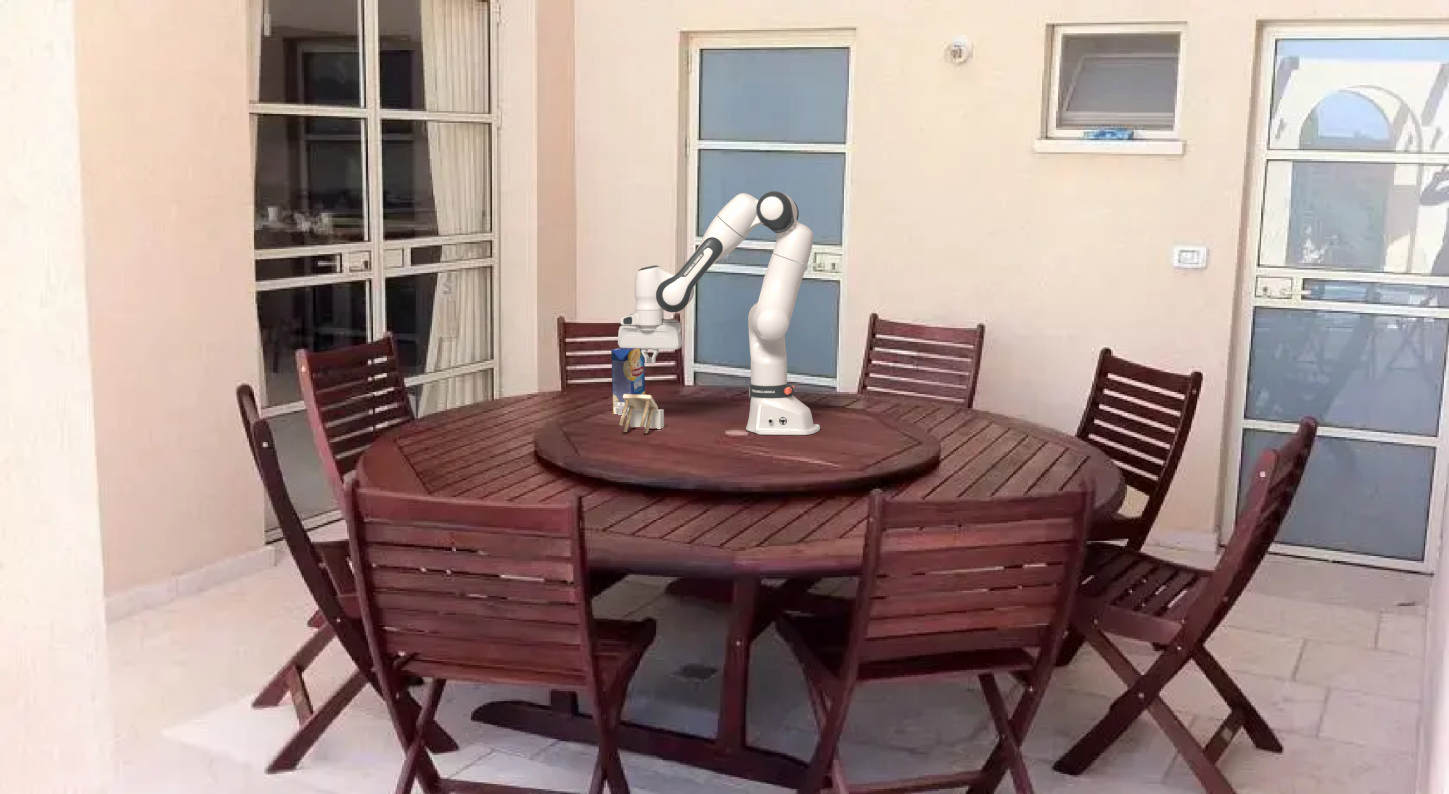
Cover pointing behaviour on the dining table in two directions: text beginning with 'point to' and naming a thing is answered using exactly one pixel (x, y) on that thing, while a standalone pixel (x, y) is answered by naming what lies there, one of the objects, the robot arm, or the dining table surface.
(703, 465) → the dining table surface
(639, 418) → the stone block
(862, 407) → the dining table surface
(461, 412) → the dining table surface
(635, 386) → the beverage box
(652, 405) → the stool
